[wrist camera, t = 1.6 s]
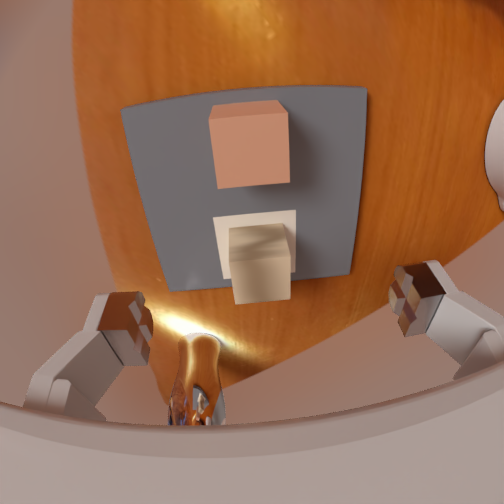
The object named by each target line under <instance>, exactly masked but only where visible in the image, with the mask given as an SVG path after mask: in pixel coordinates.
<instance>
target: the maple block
mask: <svg viewBox="0 0 504 504" xmlns="http://www.w3.org/2000/svg"><path fill="white" fill-rule="evenodd" d="M229 267H230V274H231V280H232V286H233V292H234V299H235V304H245V303H256V302H266V301H276V300H286V299H290V274H291V256H290V252H289V248H288V244H287V240H286V236H285V232H284V228H283V224H282V223H277V224H265V225H255V226H244V227H234V228H229Z"/></svg>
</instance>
